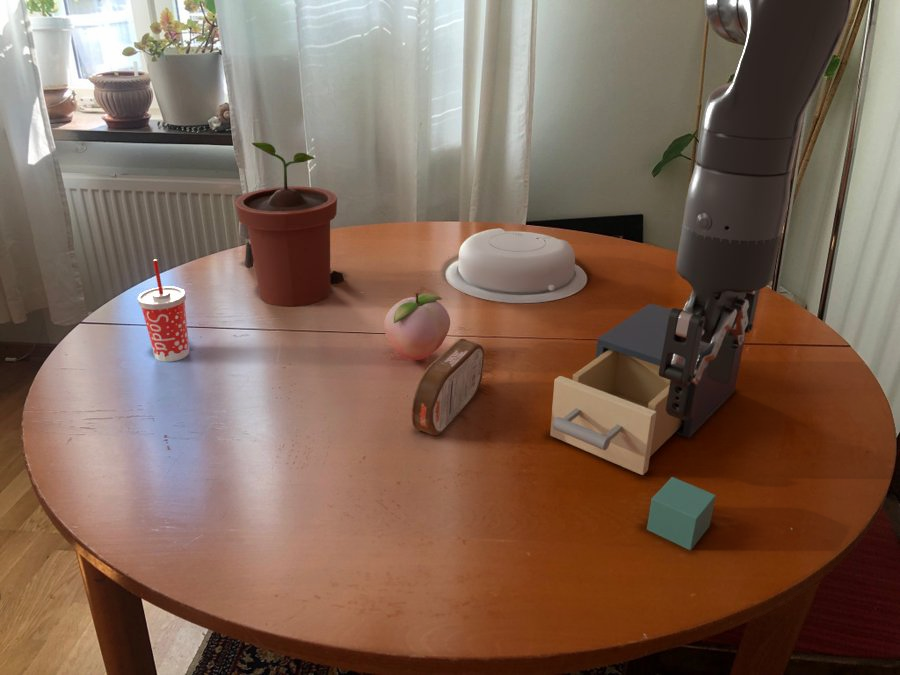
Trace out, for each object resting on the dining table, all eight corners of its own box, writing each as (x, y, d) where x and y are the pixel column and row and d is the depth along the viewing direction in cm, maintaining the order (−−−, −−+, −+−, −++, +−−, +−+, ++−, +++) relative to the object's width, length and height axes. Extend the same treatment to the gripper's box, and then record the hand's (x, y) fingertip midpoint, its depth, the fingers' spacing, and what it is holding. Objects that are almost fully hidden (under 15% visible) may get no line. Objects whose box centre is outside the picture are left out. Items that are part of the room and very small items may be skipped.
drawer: (623, 495, 75) (631, 433, 71) (528, 452, 81) (532, 394, 78) (692, 425, 86) (702, 370, 83) (604, 392, 93) (610, 340, 90)
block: (708, 531, 71) (716, 494, 69) (689, 556, 68) (696, 518, 66) (666, 512, 74) (672, 476, 72) (645, 535, 71) (651, 498, 69)
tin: (465, 385, 96) (466, 326, 93) (487, 390, 95) (489, 331, 91) (409, 444, 84) (407, 379, 80) (434, 451, 83) (433, 385, 79)
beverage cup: (139, 358, 102) (119, 263, 96) (171, 341, 107) (155, 249, 101) (172, 368, 100) (155, 271, 94) (204, 349, 105) (189, 256, 99)
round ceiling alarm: (416, 277, 130) (415, 244, 127) (501, 242, 147) (502, 212, 144) (533, 316, 115) (535, 279, 113) (613, 272, 133) (617, 239, 130)
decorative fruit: (409, 339, 108) (408, 275, 104) (458, 352, 104) (459, 287, 100) (372, 366, 101) (368, 298, 96) (423, 381, 97) (422, 311, 93)
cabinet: (687, 443, 85) (700, 372, 81) (590, 405, 92) (597, 338, 88) (733, 396, 94) (746, 330, 90) (641, 365, 101) (650, 303, 97)
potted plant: (231, 315, 116) (208, 154, 104) (245, 265, 135) (227, 125, 124) (345, 309, 118) (335, 150, 107) (343, 261, 137) (335, 123, 126)
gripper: (745, 255, 52) (707, 447, 59) (809, 212, 62) (769, 381, 69) (647, 232, 56) (623, 414, 63) (721, 195, 66) (693, 356, 73)
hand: (699, 397), depth 66 cm, fingers open, 8 cm apart
